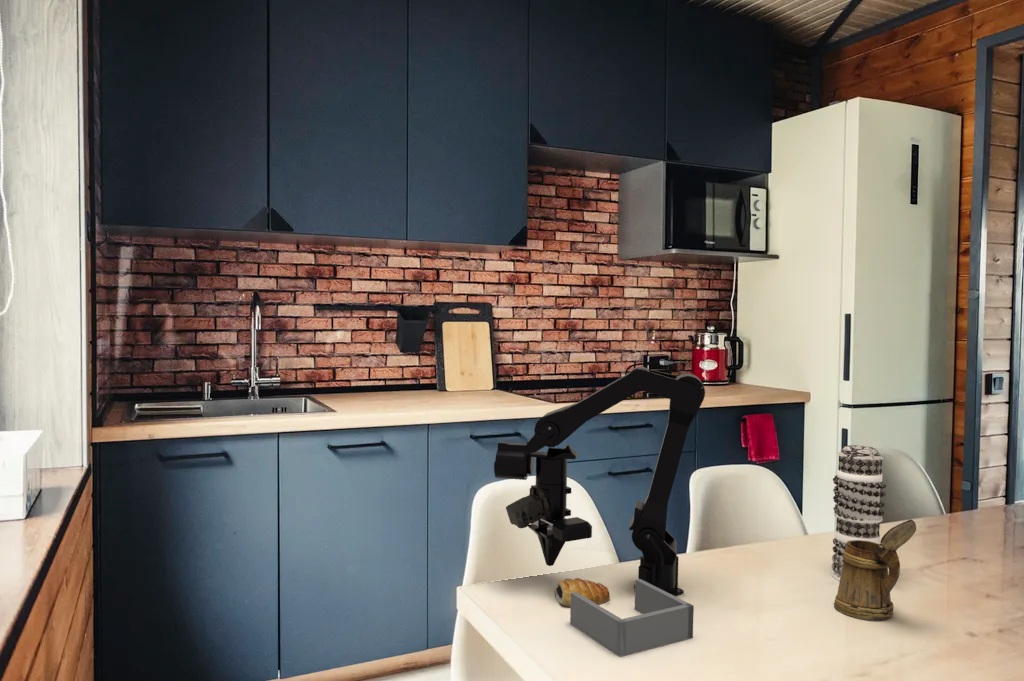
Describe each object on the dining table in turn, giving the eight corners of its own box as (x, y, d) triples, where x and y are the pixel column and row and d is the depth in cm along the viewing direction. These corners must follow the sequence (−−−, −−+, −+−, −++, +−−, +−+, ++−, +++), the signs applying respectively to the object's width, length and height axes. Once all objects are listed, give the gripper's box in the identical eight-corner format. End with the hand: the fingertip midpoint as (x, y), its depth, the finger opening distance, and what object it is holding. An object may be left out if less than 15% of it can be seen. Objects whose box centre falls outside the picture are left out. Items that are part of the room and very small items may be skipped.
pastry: (602, 592, 137) (602, 571, 137) (615, 607, 130) (616, 585, 130) (551, 595, 135) (552, 574, 134) (563, 611, 128) (563, 588, 128)
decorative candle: (834, 584, 142) (838, 450, 141) (825, 567, 151) (830, 442, 150) (887, 589, 140) (892, 453, 138) (876, 572, 149) (881, 444, 147)
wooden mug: (885, 635, 120) (890, 522, 119) (822, 603, 132) (826, 500, 131) (928, 628, 123) (932, 517, 122) (862, 597, 135) (866, 497, 134)
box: (639, 607, 129) (639, 578, 129) (692, 637, 118) (693, 605, 118) (570, 623, 122) (570, 592, 122) (619, 656, 111) (620, 622, 111)
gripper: (488, 475, 144) (487, 556, 145) (540, 497, 128) (538, 589, 129) (539, 469, 150) (537, 548, 150) (594, 490, 133) (592, 578, 134)
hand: (549, 565), depth 141 cm, fingers closed
